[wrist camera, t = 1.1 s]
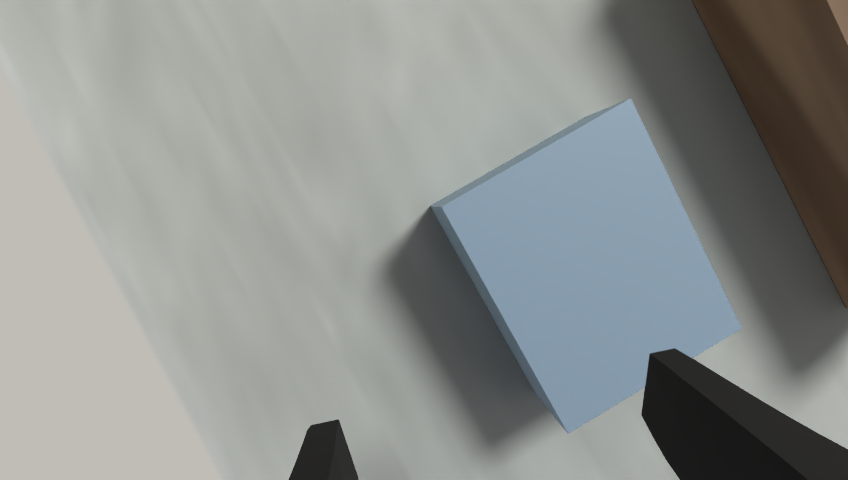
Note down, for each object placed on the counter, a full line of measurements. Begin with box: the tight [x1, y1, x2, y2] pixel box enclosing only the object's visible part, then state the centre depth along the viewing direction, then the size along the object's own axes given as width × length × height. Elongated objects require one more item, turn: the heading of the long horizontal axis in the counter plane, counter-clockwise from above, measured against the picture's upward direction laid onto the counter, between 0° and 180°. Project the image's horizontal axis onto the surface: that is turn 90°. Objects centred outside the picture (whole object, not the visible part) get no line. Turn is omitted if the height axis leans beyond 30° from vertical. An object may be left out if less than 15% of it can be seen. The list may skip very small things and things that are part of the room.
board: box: [692, 0, 848, 308], centre depth 18 cm, size 2×20×5 cm, turn 32°
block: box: [430, 98, 742, 433], centre depth 19 cm, size 8×10×4 cm
